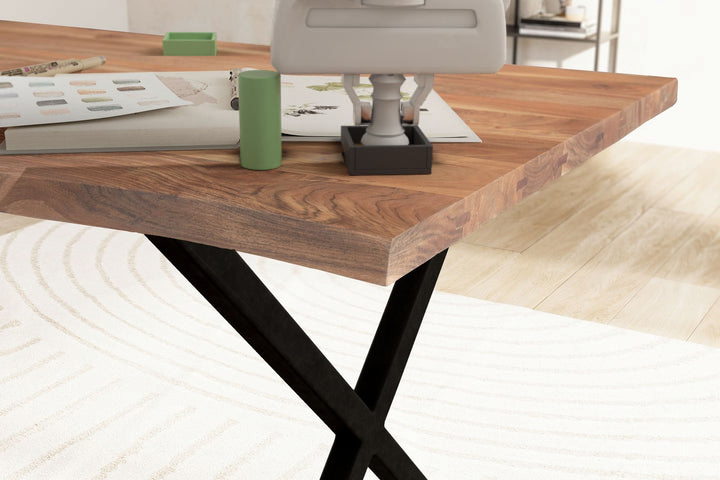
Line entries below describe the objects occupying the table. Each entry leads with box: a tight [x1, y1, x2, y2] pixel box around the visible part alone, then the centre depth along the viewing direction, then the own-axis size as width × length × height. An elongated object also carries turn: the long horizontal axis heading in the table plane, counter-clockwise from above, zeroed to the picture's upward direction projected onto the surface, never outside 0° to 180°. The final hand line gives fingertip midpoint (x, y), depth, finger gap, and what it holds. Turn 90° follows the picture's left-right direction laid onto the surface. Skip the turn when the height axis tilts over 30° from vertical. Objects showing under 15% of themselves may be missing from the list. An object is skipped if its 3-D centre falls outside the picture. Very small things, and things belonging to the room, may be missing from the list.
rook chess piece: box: [360, 74, 410, 146], centre depth 78 cm, size 4×4×8 cm
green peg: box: [237, 69, 283, 171], centre depth 77 cm, size 4×4×8 cm
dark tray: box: [340, 124, 434, 176], centre depth 79 cm, size 7×7×2 cm
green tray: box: [161, 31, 218, 57], centre depth 127 cm, size 7×7×2 cm
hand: (385, 123), depth 78 cm, fingers closed on rook chess piece, 3 cm apart
